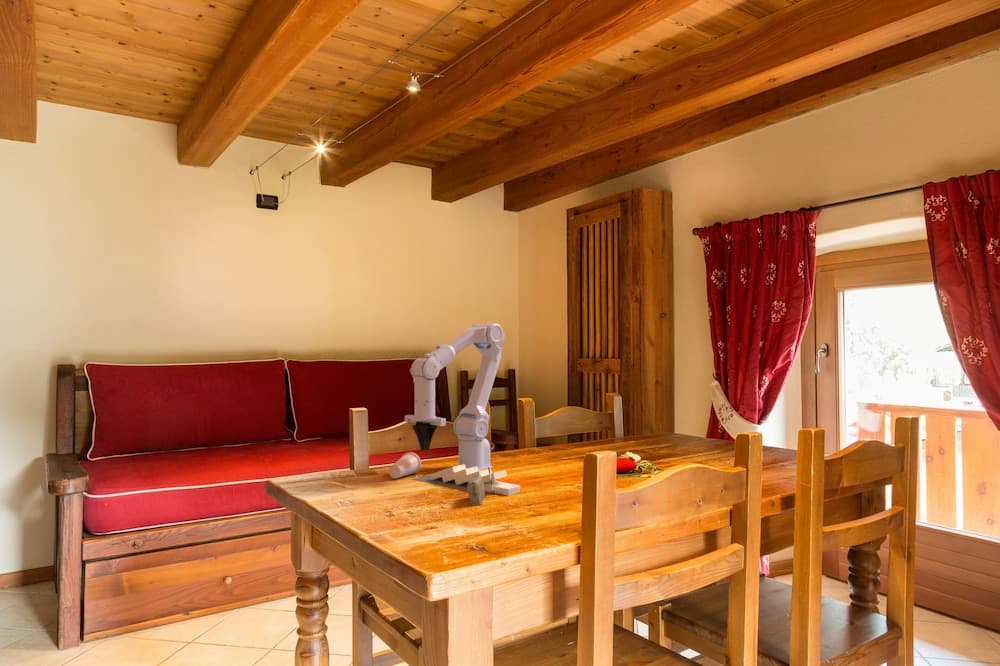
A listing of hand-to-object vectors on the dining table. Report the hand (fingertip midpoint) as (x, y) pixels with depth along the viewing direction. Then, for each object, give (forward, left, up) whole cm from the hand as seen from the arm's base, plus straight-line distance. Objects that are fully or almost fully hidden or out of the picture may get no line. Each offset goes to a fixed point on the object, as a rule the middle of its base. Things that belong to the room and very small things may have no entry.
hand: (424, 449), depth 178 cm
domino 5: (0, +23, -7) cm, 24 cm away
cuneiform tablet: (+9, +29, -8) cm, 31 cm away
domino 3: (0, +14, -7) cm, 16 cm away
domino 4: (0, +19, -6) cm, 20 cm away
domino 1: (0, +5, -7) cm, 8 cm away
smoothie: (+9, -3, -5) cm, 10 cm away
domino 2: (0, +9, -7) cm, 11 cm away
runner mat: (0, +13, -8) cm, 15 cm away
